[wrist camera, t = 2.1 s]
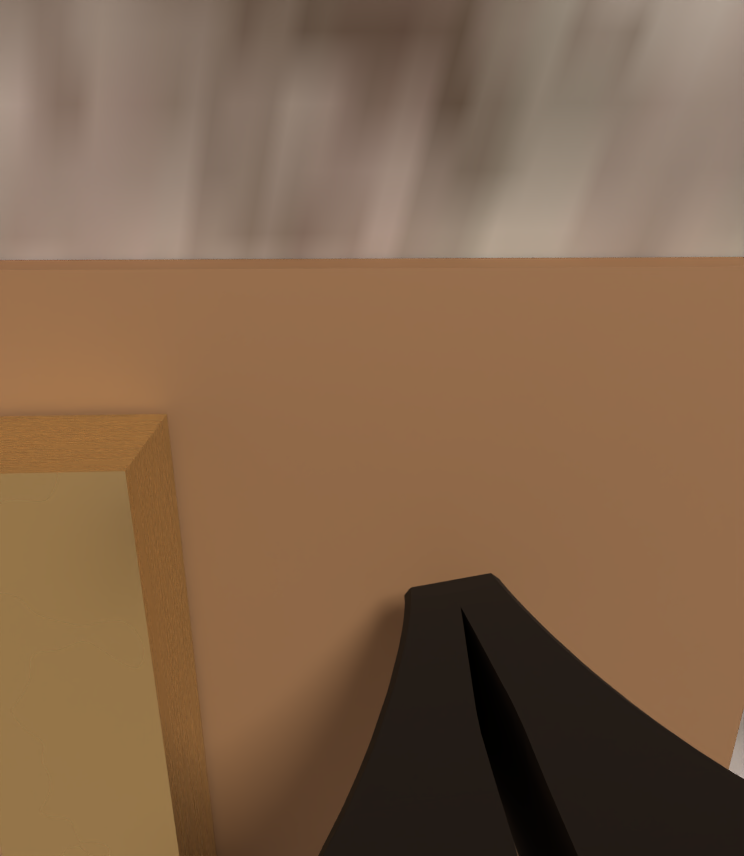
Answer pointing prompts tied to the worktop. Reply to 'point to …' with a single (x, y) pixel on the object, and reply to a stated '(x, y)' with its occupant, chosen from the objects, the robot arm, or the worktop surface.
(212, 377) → the door mockup
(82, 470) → the latch arm
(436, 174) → the worktop surface
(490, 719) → the robot arm
